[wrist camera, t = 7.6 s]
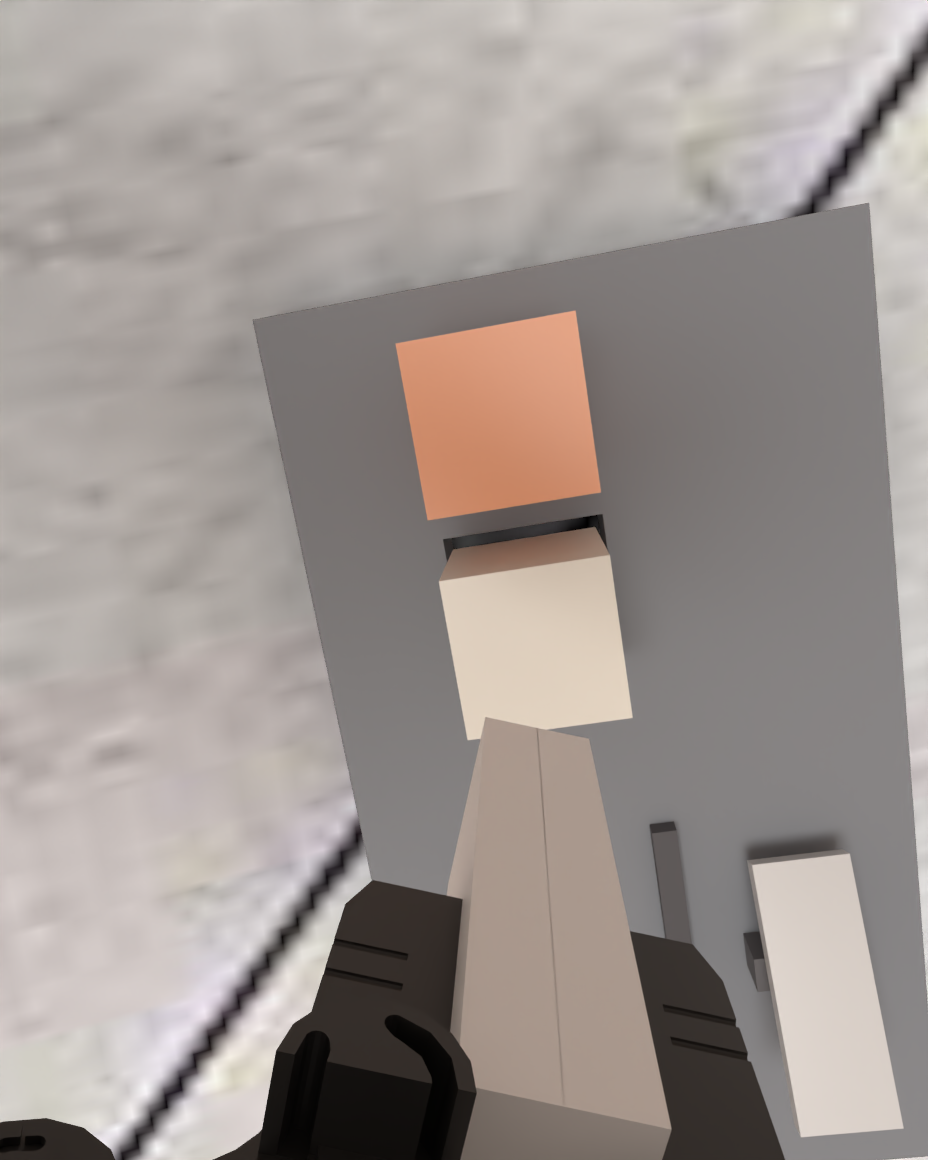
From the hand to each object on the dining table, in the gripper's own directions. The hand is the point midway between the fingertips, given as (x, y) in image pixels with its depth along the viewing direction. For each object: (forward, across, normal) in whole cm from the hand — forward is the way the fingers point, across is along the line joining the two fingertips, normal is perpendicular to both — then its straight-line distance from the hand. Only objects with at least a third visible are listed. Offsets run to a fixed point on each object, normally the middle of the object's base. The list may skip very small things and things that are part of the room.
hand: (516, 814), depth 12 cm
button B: (+15, +1, -1) cm, 15 cm away
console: (+18, +5, -6) cm, 19 cm away
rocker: (+13, +12, -10) cm, 20 cm away
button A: (+15, -1, +5) cm, 16 cm away
